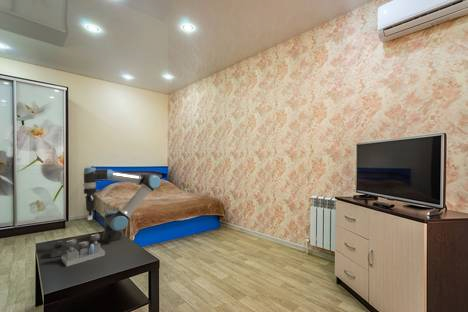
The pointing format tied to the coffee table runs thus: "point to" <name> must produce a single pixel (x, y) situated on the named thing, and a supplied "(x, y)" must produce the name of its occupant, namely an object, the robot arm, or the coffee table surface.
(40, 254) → the coffee table surface
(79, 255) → the knob panel
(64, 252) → the camera
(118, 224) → the robot arm
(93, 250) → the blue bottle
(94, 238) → the knob
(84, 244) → the knob mid
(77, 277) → the coffee table surface
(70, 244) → the knob
